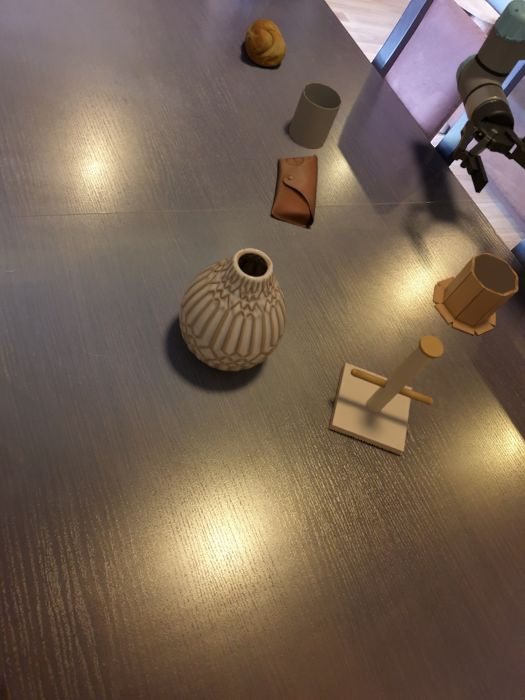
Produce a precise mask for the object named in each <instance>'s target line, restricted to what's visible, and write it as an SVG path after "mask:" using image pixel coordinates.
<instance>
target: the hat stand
mask: <svg viewBox="0 0 525 700" xmlns="http://www.w3.org/2000/svg"><path fill="white" fill-rule="evenodd" d="M444 350H445V347H444V345H443V342H442V341H441V340H440V339H439V338H438V337H436V336H434V335H431V334H426V335H423V336H422V337H421V338H420V339H419V341H418V346H417V347H416V348H415V349H414V350H413V351H412V352H411V353H410V354H409V355H408V356H407V358H405V359H404V360H403V362H402V363H401V364H400V365H399V366H398V367H396V369H395V370H394V371H393V372H392V373H391V374H390V375H389V377H384V376H382V375H380V374H377V373H375V372H372V371H369V370H367V369H364V368H362V367H359V366H356V365H353V364H351V363H348V362H345V363H344V364H343V365H342V367H341V371H340V376H339V381H338V385H337V390H336V394H335V398H334V403H333V408H332V411H331V412H332V413H331V416H330V421H329V426H328V429H329V430H333V431H334V430H335V432H336V433H337V432H338V433H340V434H342V433H343V435H345V434H346V435H345V436H348V435H349V436H348V437H350V436H352V437H351V438H353V437H354V438H353V439H356V440H358V439H359V441H361V440H362V442H364V441H365V442H364V443H366V442H367V443H366V444H369V443H370V444H369V445H372V444H373V445H372V446H374V445H375V447H377V446H378V448H380V449H382V448H383V449H382V450H385V451H388V452H390V451H391V452H390V453H393V454H396V455H399V456H400V455H401V454H403V453H404V452H405V444H406V438H407V437H406V436H407V430H408V422H409V414H410V406H411V399H412V400H414V401H416V402H419V403H421V404H424V405H427V406H431V405H433V403H434V399H433V398H432V397H431V396H428V395H426V394H423V393H421V392H417V391H415V390H413V387H411V386H408V384H409V383H411V381H412V380H413V379H415V378H416V377H417V376H418V375H419V374H420V373H421V371H423V370H424V369H425V368H426V366H428V364H430V363H431V362H432V361H433V360H436V359H439V358H441V356H442V355H443V354H444Z"/></svg>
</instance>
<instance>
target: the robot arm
mask: <svg viewBox="0 0 525 700" xmlns="http://www.w3.org/2000/svg"><path fill="white" fill-rule="evenodd" d="M520 61H525V0H511V1H510V2H508V4H507V5H506V6H505V8H504V9H503V11H502V12H501V14H500V15H499V16H498V17H497V19H496V20H495V22H494V24H493V26H492V27H491V30H490V31H489V33H488V34H487V36H486V38H485V40H484V41H483V43H482V45H481V46H480V48H479V50H478V52H476V53H475V54H471V55H469V56H468V57H467V58H465V59H464V60H463V61H462V62H461V63H460V64H459V65H458V68H457V69H456V73H455V80H456V88H457V92H458V94H459V96H460V99H461V102H462V105H463V107H464V111H465V115H466V117H467V120H466V122H465V124H464V125H463V127H462V128H461V130H460V131H459V133H460V139H459V141H458V143H457V146H456V148H455V150H454V152H453V154H452V157H451V158H452V160H454V161H456V162H458V161H459V160H460V161H461V162H460V164H459V168H461V169H466V173H467V174H468V175H469V176H470V178H471V181H472V185H473V188H474V192H475V194H480V193H481V192H482V191H483V190H484V188H485V187H486V186H487V185H488V184H489V182H490V181H489V178H488V175H487V171H486V169H485V166H484V165H485V164H484V162H483V160H482V156H481V154H482V153H483V152H484V151H485V150H488V151H489V152H492V153H498V154H500V155H503V156H504V157H506V158H507V160H509V161H512V160H513V161H514V162H515V163H517V164H518V165H519V166H520V167H521V168H522V169H523V170H525V135H524V136H523V137H520V136H518V134H516V132H515V117H514V115H513V112H512V110H511V107H510V104H509V100H508V98H507V96H506V93H505V91H504V88H503V84H504V83H505V81H506V80H507V78H508V77H509V76H510V75H511V73H512V71H513V70H514V68H515V67H516V66H517V64H518V63H519V62H520ZM472 137H473V139H474V141H475V142H477V143H476V144H475V145H473V147H471V149H469V150H467V148H468V145H469V143H470V140H471V138H472ZM515 146H516V147H515ZM514 147H515V148H514ZM513 148H514V150H513V151H512V149H513ZM511 151H512V152H511Z"/></svg>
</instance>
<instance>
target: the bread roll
mask: <svg viewBox="0 0 525 700" xmlns="http://www.w3.org/2000/svg"><path fill="white" fill-rule="evenodd" d="M244 44H245V45H244V47H245V51H246V54H247V56H248V57H249V59H250V60H251V61H252V62H254V63H255V64H257V65H259V66H263V67H267V68H268V67H270V68H271V67H275V66H277V65H279V64H280V63H281V62H282V61H283V60H284V59H285V56H286V52H287V45H286V41H285V39H284V36H283V35H282V32H281V30H280V28H279V27H278V25H276V24H275V23H274V21H272V20H269V19H257V20H255V21H254V22H253V23H251V24H250V25H249V27H248V29H247V31H246V34H245V38H244Z"/></svg>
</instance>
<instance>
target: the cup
mask: <svg viewBox="0 0 525 700" xmlns="http://www.w3.org/2000/svg"><path fill="white" fill-rule="evenodd" d="M342 103H343V100H342V96H341V95H340V94H339V92H338V91H337V90H336V89H334V88H333V87H332V86H330V85H327V84H325V83H323V82H310V83H307V84H305V85H304V87H303V89H302V91H301V94H300V96H299V99H298V103H297V105H296V107H295V111H294V114H293V117H292V119H291V122H290V125H289V127H288V132H289V133H288V134H289V137H290V138H291V139H292V141H293V142H294V143H296V144H297V145H299V146H300V147H303V148H306V149H308V150H309V149H311V150H316V149H317V150H318V149H320V148H322V147H324V145H325V143H326V141H327V140H328V136H329V135H330V131H331V129H332V128H333V125H334V122H335V120H336V117H337V115H338V113H339V110H340V108H341V106H342Z"/></svg>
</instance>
